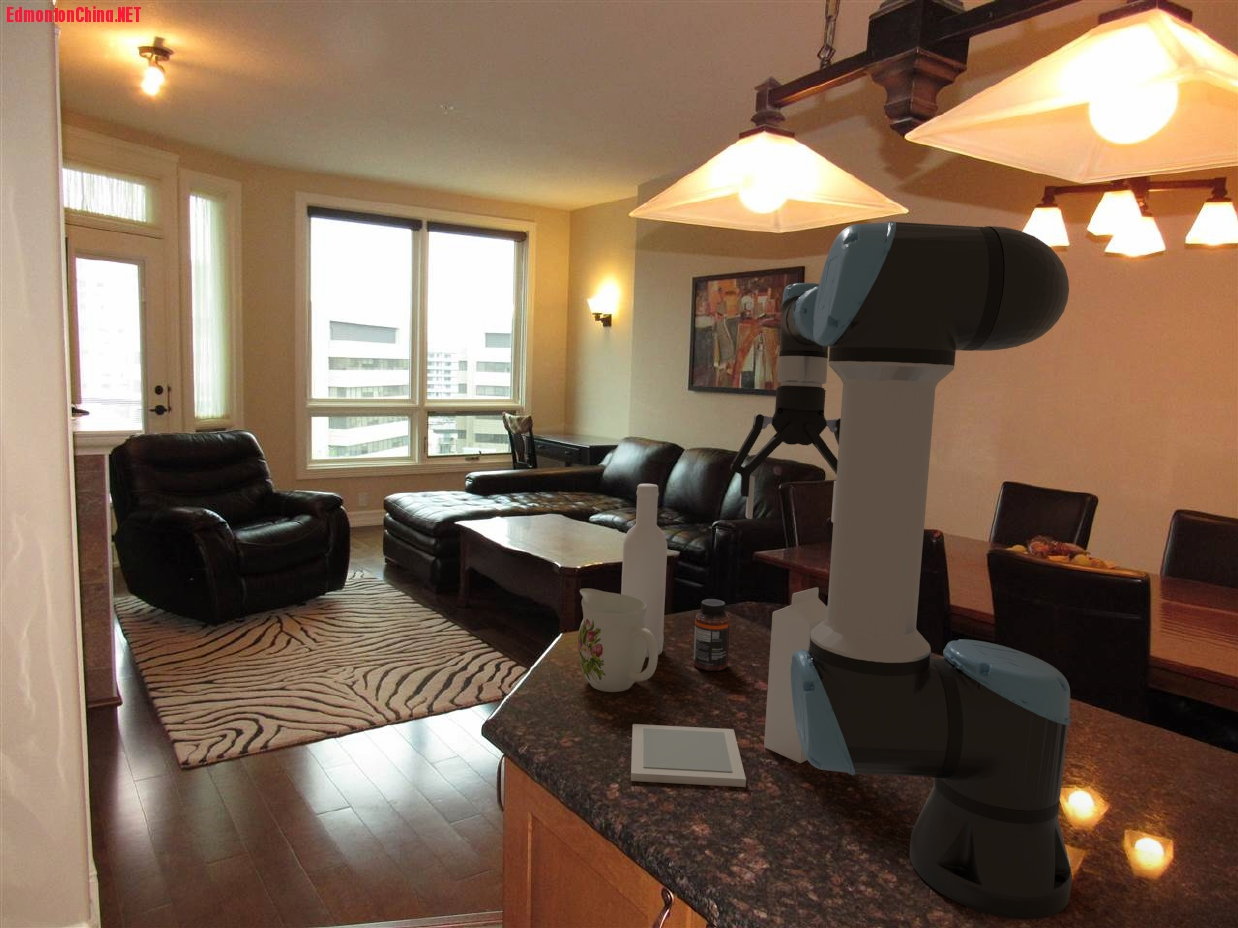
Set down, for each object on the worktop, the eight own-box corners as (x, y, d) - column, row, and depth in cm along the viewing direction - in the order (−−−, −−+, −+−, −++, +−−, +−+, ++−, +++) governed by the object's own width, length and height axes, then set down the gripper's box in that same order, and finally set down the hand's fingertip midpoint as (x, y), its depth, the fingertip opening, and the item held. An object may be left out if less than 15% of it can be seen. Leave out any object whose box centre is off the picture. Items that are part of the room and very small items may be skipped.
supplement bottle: (711, 657, 145) (715, 595, 144) (735, 668, 140) (739, 603, 139) (685, 663, 142) (689, 599, 140) (708, 674, 137) (712, 608, 136)
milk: (826, 751, 111) (839, 592, 108) (800, 764, 107) (813, 599, 104) (788, 735, 115) (800, 581, 113) (762, 747, 111) (773, 588, 109)
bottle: (634, 640, 153) (641, 480, 149) (671, 649, 148) (679, 485, 145) (609, 651, 146) (616, 484, 143) (647, 661, 142) (654, 489, 138)
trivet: (745, 786, 100) (746, 777, 100) (630, 780, 101) (631, 771, 101) (733, 735, 114) (733, 728, 114) (632, 730, 115) (632, 722, 115)
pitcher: (626, 713, 120) (630, 622, 119) (553, 675, 134) (555, 593, 132) (679, 696, 127) (683, 610, 126) (605, 662, 141) (608, 583, 139)
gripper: (875, 390, 132) (865, 521, 133) (719, 382, 133) (711, 512, 134) (888, 389, 124) (878, 528, 126) (723, 380, 125) (714, 518, 127)
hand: (792, 520), depth 130 cm, fingers open, 13 cm apart
